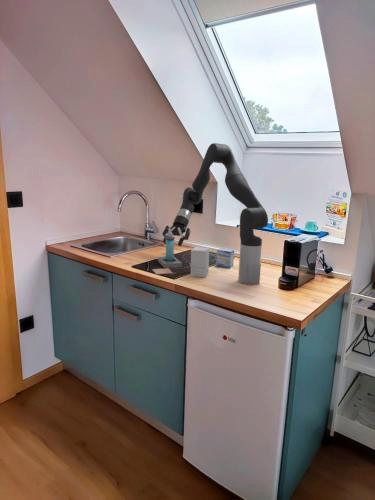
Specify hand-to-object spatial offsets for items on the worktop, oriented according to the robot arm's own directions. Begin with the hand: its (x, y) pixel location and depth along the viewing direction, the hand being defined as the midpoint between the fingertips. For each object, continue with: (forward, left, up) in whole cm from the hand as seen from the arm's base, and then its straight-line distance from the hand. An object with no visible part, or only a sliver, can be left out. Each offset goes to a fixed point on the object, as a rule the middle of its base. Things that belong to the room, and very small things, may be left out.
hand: (171, 244), depth 193 cm
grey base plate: (-1, +1, -11) cm, 11 cm away
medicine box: (-10, -26, -11) cm, 30 cm away
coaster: (-13, +8, -11) cm, 19 cm away
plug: (-1, +1, -10) cm, 10 cm away
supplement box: (-21, -8, -11) cm, 25 cm away
